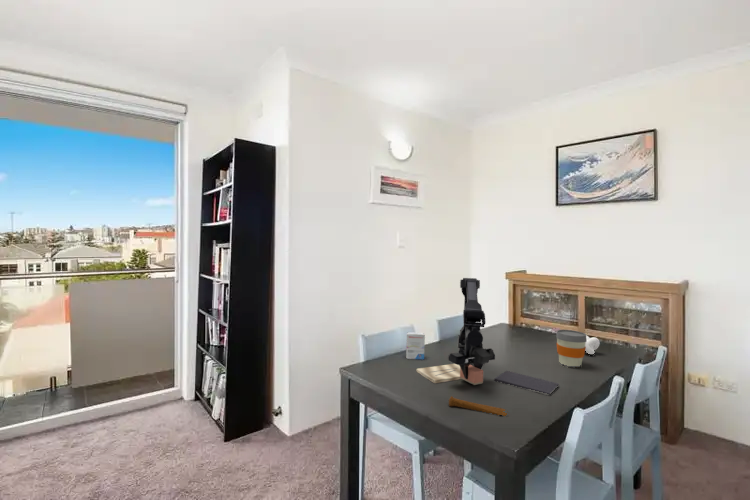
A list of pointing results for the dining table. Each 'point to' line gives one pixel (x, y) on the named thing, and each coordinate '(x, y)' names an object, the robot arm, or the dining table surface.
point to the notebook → (526, 382)
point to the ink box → (415, 345)
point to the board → (441, 373)
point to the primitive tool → (476, 406)
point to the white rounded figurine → (591, 344)
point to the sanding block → (473, 375)
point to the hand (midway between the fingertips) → (471, 377)
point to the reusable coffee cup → (570, 347)
